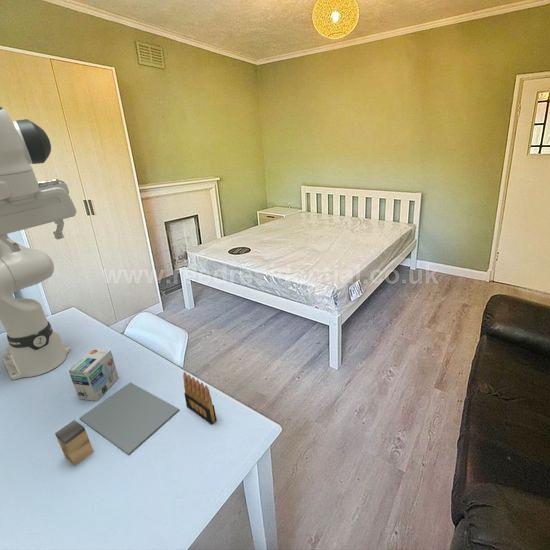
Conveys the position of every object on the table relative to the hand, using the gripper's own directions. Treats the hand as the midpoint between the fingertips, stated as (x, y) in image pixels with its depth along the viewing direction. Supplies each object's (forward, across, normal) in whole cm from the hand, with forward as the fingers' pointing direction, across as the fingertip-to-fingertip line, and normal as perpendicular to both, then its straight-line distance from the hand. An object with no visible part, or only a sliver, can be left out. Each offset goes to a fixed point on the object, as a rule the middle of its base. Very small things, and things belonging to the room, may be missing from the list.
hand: (38, 244), depth 78 cm
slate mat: (+47, 0, +17) cm, 50 cm away
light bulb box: (+48, 0, -1) cm, 48 cm away
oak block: (+46, +14, +18) cm, 52 cm away
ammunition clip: (+48, -12, +33) cm, 59 cm away
